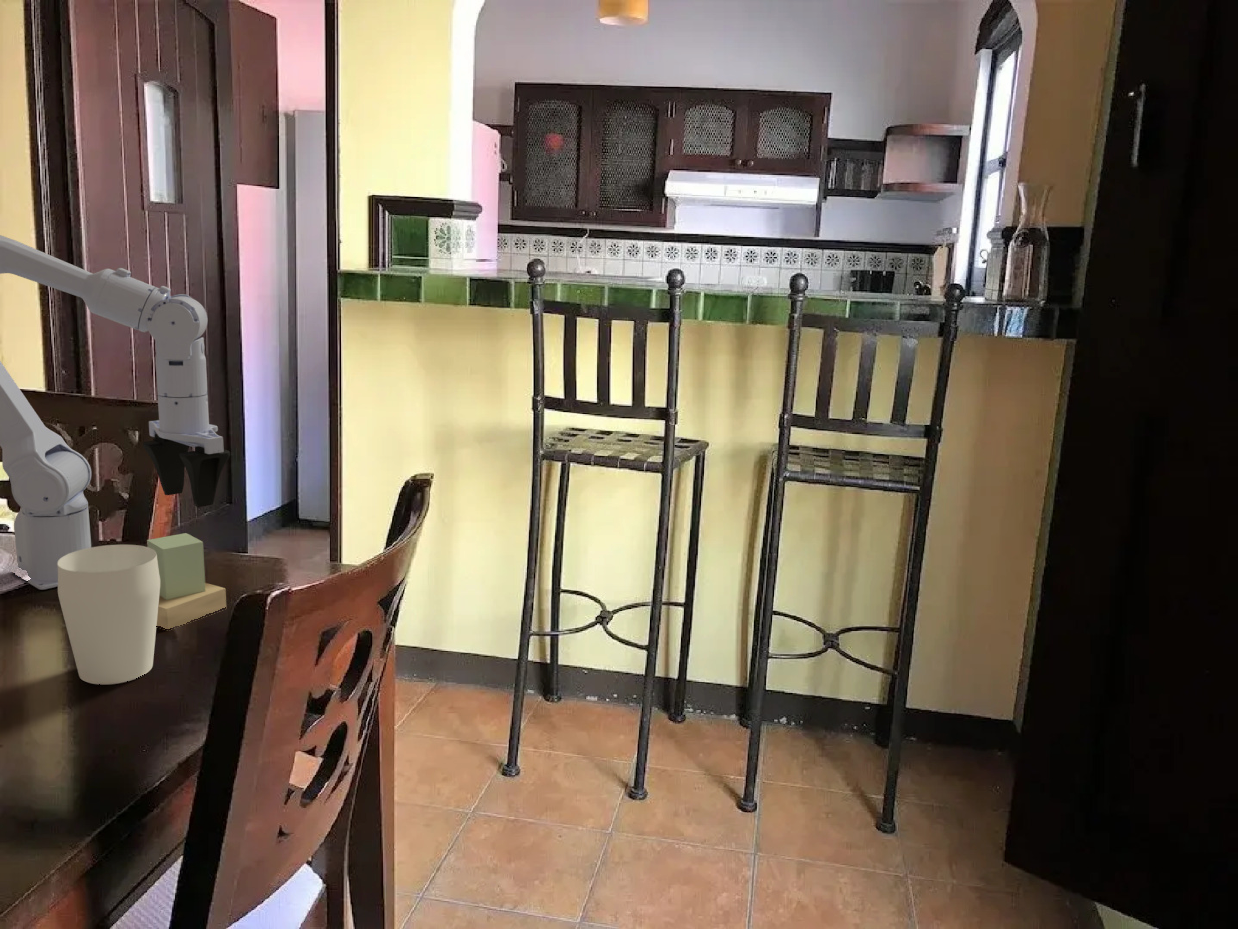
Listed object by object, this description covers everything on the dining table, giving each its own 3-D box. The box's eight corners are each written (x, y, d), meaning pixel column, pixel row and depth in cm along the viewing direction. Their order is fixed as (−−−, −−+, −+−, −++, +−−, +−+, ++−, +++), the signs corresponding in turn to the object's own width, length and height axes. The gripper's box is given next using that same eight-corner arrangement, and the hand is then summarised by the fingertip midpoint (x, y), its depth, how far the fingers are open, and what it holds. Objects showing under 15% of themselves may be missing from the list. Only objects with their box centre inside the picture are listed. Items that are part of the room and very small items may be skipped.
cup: (125, 696, 94) (116, 577, 91) (43, 684, 96) (32, 567, 93) (184, 659, 103) (178, 549, 100) (108, 648, 104) (100, 540, 102)
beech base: (121, 619, 113) (119, 594, 113) (180, 598, 120) (179, 575, 120) (168, 634, 110) (166, 609, 109) (226, 612, 117) (225, 588, 116)
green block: (150, 589, 115) (147, 540, 113) (188, 581, 118) (186, 533, 116) (166, 599, 112) (163, 549, 110) (205, 591, 115) (203, 541, 113)
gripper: (244, 398, 121) (248, 505, 124) (183, 384, 130) (189, 483, 133) (189, 404, 116) (195, 515, 119) (130, 389, 125) (137, 492, 128)
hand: (188, 499), depth 126 cm, fingers open, 7 cm apart
